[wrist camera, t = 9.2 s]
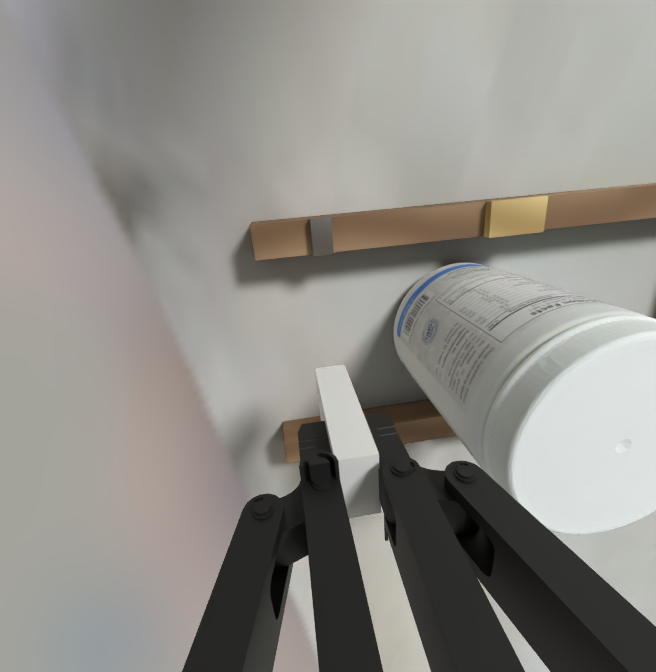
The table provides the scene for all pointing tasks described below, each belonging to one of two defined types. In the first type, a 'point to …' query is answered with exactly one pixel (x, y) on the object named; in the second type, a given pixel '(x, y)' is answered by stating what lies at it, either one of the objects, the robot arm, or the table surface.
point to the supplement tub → (540, 390)
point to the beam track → (440, 225)
